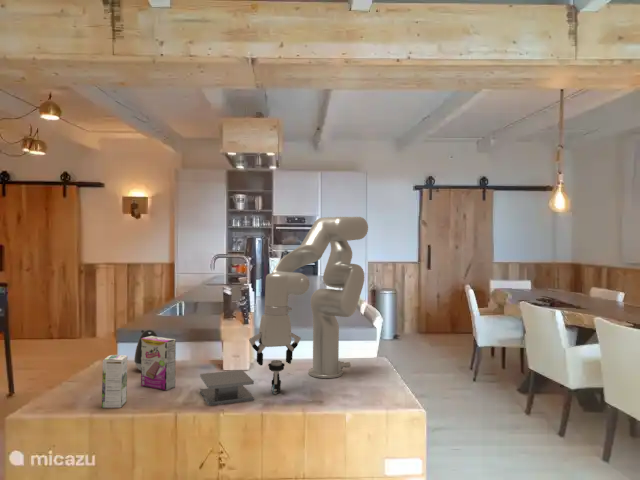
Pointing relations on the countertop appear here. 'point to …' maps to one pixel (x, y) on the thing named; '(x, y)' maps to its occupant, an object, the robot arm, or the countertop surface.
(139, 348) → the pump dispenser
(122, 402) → the syrup box
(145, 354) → the candy bar box
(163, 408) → the countertop surface
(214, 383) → the stand
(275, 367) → the push button
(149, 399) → the countertop surface
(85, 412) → the countertop surface
